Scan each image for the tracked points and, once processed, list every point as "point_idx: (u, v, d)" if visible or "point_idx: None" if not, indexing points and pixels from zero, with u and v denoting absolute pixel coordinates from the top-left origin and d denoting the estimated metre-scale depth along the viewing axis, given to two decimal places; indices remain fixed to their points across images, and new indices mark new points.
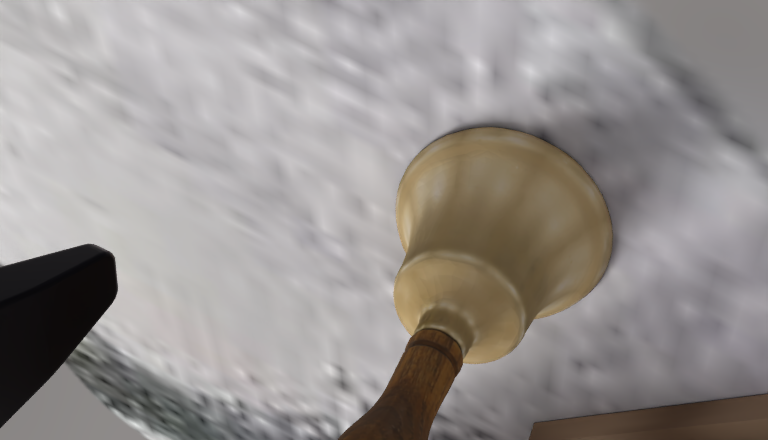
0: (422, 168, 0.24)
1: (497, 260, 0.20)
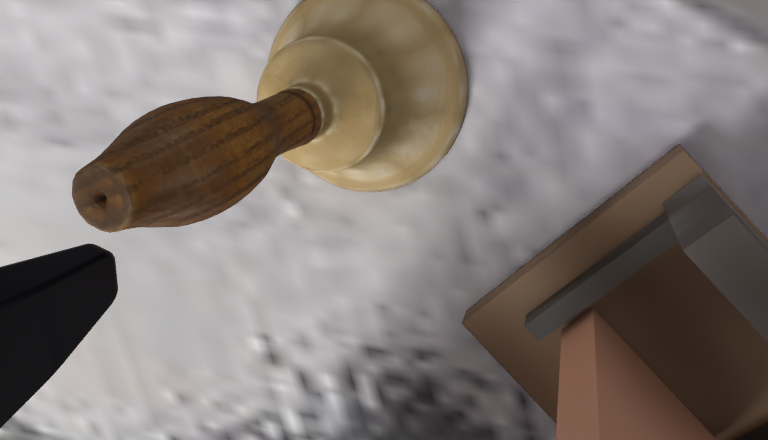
0: (277, 43, 0.26)
1: (339, 38, 0.21)
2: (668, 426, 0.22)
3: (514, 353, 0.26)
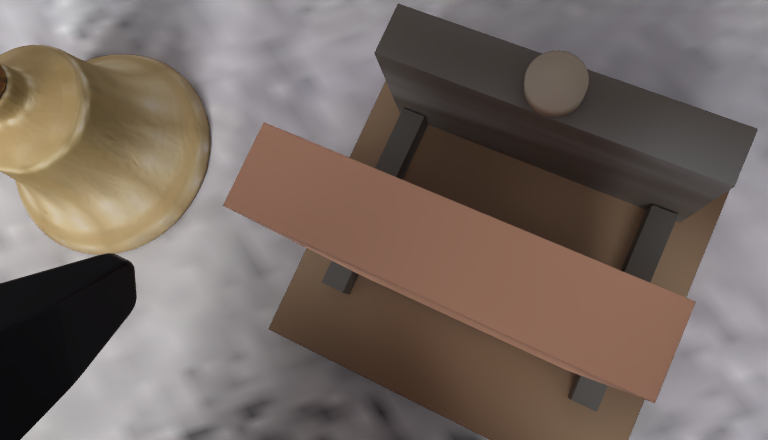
0: None
1: None
2: None
3: (335, 336, 0.22)
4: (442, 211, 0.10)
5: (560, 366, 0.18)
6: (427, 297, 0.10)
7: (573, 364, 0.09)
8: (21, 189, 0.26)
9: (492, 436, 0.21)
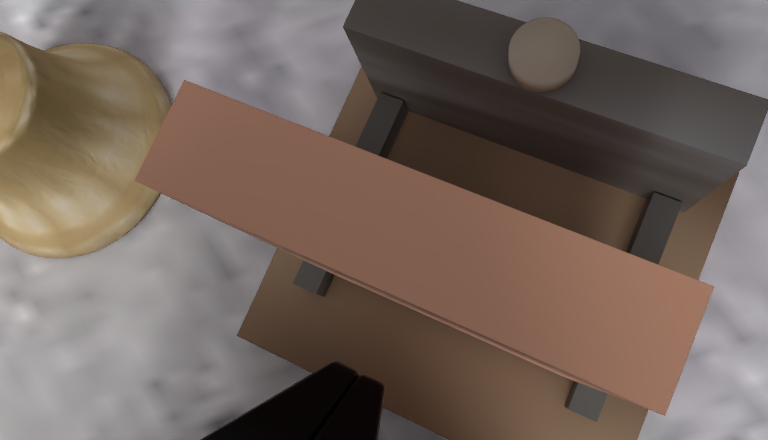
0: None
1: None
2: None
3: (309, 342, 0.20)
4: (398, 181, 0.08)
5: (554, 372, 0.16)
6: (380, 287, 0.08)
7: (561, 368, 0.07)
8: None
9: None
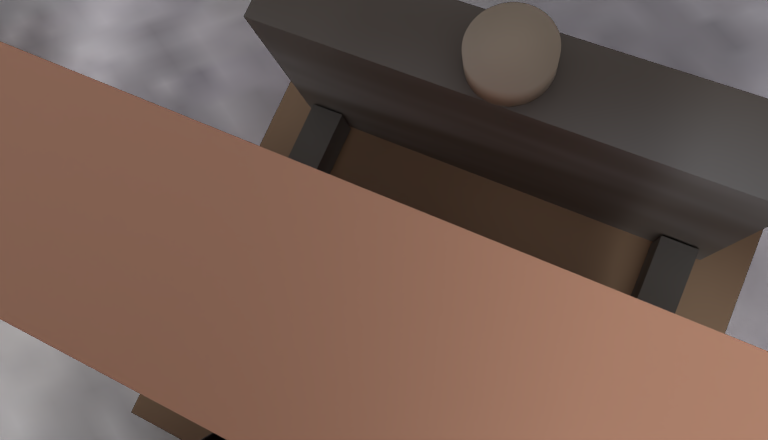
0: None
1: None
2: None
3: None
4: (206, 163, 0.04)
5: None
6: (154, 394, 0.04)
7: None
8: None
9: None
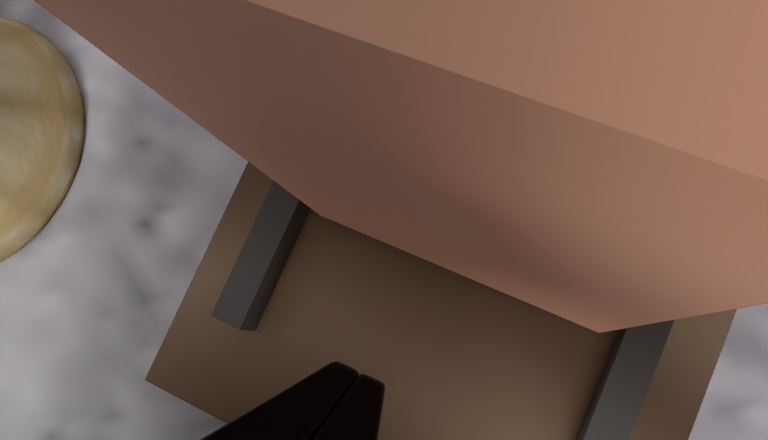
0: None
1: None
2: None
3: (235, 390, 0.16)
4: None
5: (598, 317, 0.12)
6: (317, 23, 0.04)
7: (728, 167, 0.03)
8: None
9: None
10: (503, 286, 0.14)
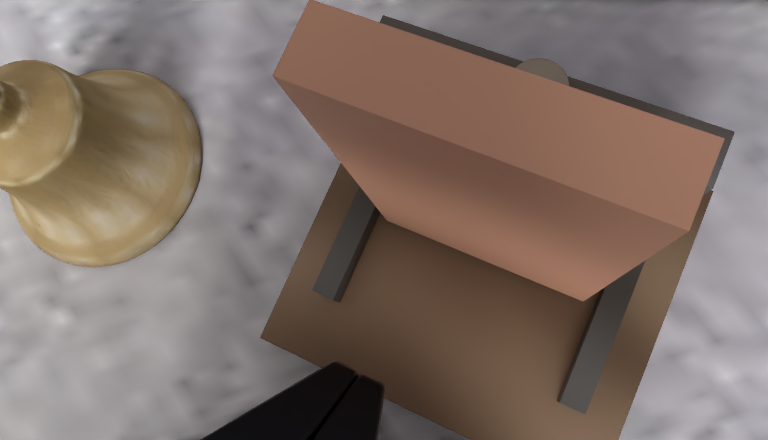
0: None
1: None
2: None
3: (326, 344, 0.22)
4: (482, 70, 0.10)
5: (580, 285, 0.18)
6: (470, 148, 0.10)
7: (610, 201, 0.10)
8: (14, 203, 0.26)
9: None
10: (518, 268, 0.20)
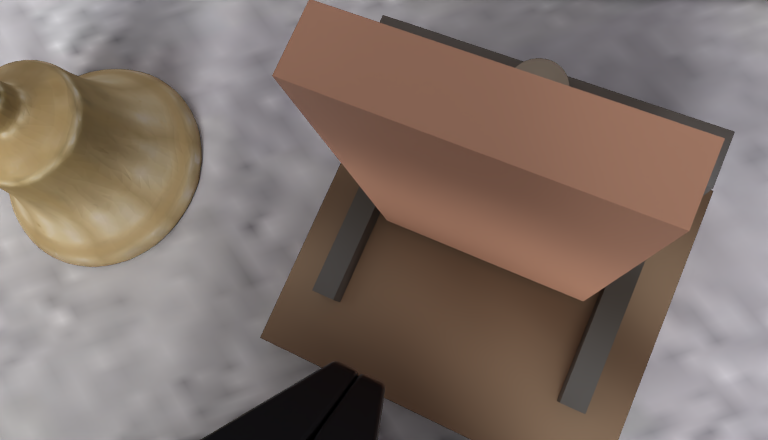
0: None
1: None
2: None
3: (326, 344, 0.22)
4: (482, 70, 0.10)
5: (580, 285, 0.18)
6: (470, 148, 0.10)
7: (610, 201, 0.10)
8: (14, 203, 0.26)
9: None
10: (518, 268, 0.20)
